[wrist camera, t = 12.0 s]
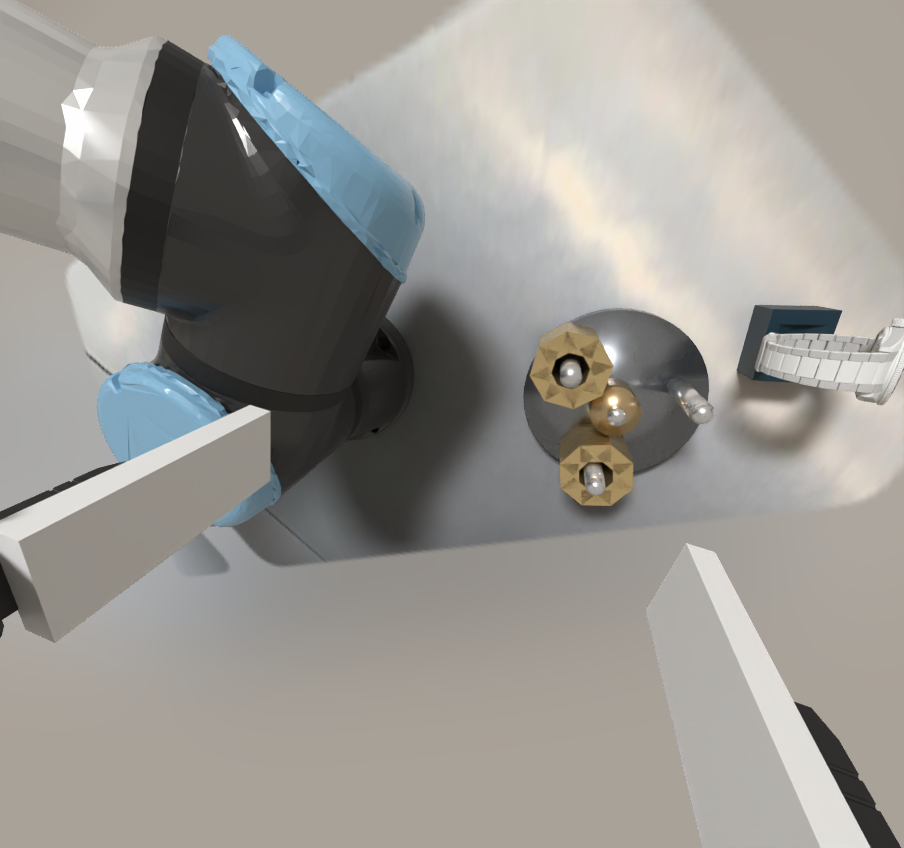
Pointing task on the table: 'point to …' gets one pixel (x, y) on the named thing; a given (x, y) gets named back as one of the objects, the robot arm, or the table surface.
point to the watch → (821, 352)
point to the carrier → (629, 391)
